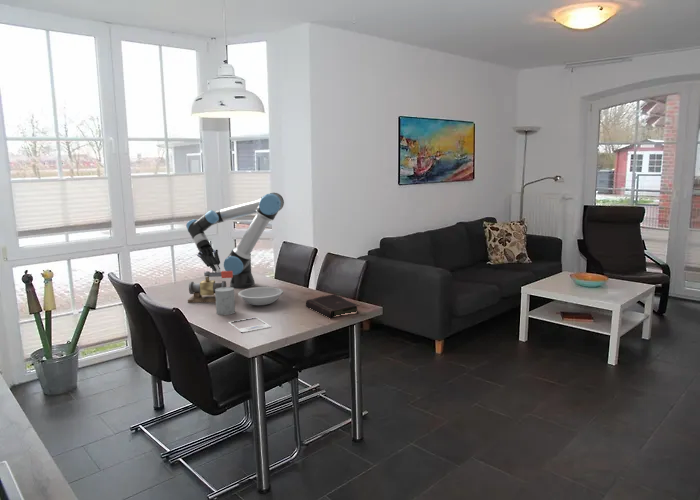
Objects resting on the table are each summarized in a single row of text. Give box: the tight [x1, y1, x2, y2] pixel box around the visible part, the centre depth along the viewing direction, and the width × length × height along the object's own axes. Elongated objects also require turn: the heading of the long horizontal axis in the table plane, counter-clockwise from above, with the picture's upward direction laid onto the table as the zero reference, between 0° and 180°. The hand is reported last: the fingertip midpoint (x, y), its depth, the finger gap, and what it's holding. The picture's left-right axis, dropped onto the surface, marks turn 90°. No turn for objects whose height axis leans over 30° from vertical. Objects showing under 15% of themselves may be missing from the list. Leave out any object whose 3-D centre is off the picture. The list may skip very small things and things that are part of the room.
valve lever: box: [203, 270, 233, 279], centre depth 289 cm, size 3×16×4 cm, turn 95°
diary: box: [305, 293, 360, 319], centre depth 268 cm, size 19×25×5 cm
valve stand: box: [187, 276, 227, 304], centre depth 289 cm, size 20×11×13 cm, turn 91°
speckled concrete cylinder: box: [214, 286, 236, 316], centre depth 265 cm, size 10×10×12 cm
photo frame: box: [227, 316, 272, 333], centre depth 245 cm, size 15×1×18 cm
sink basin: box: [237, 286, 284, 306], centre depth 281 cm, size 24×24×7 cm
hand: (219, 275), depth 293 cm, fingers closed
